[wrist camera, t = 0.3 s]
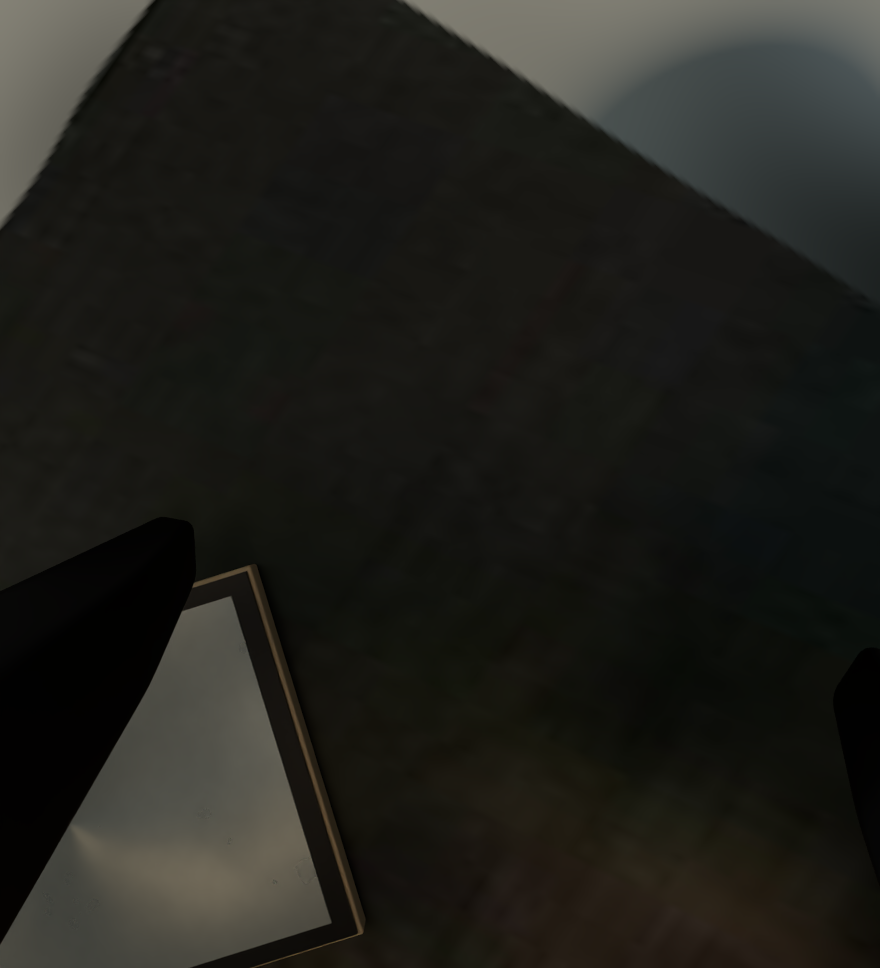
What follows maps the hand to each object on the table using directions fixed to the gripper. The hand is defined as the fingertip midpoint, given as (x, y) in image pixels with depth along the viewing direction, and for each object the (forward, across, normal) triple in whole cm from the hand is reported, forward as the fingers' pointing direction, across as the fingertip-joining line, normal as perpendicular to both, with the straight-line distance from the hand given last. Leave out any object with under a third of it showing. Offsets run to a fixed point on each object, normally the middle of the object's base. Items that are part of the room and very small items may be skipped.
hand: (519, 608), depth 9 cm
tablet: (+6, +12, +18) cm, 22 cm away
